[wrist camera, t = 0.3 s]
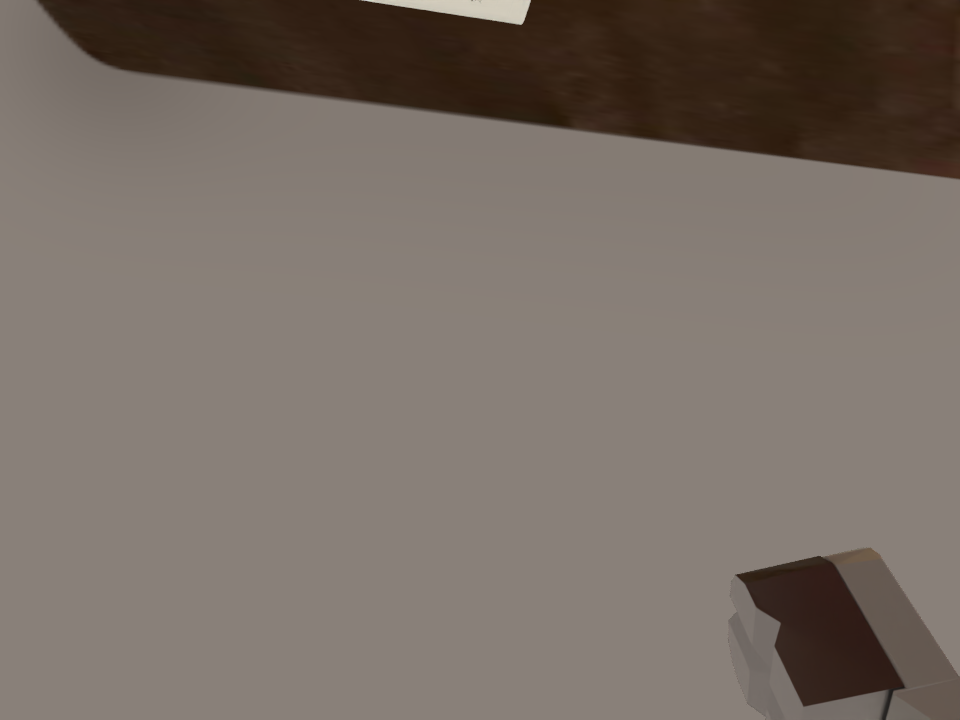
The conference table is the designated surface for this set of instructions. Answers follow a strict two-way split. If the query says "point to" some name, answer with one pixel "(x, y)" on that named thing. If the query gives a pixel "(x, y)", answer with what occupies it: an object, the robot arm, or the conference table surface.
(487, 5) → the external hard drive
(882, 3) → the conference table surface
